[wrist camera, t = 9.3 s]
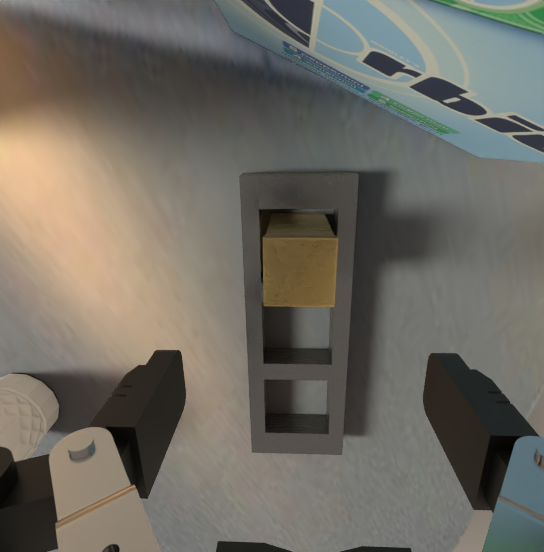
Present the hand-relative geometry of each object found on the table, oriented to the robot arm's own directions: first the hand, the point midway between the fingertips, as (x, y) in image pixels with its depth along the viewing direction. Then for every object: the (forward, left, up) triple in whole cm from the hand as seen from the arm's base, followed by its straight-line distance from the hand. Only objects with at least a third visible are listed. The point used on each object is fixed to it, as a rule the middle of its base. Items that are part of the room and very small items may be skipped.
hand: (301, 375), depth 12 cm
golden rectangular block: (0, 0, -18) cm, 18 cm away
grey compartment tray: (-7, 0, -18) cm, 19 cm away
